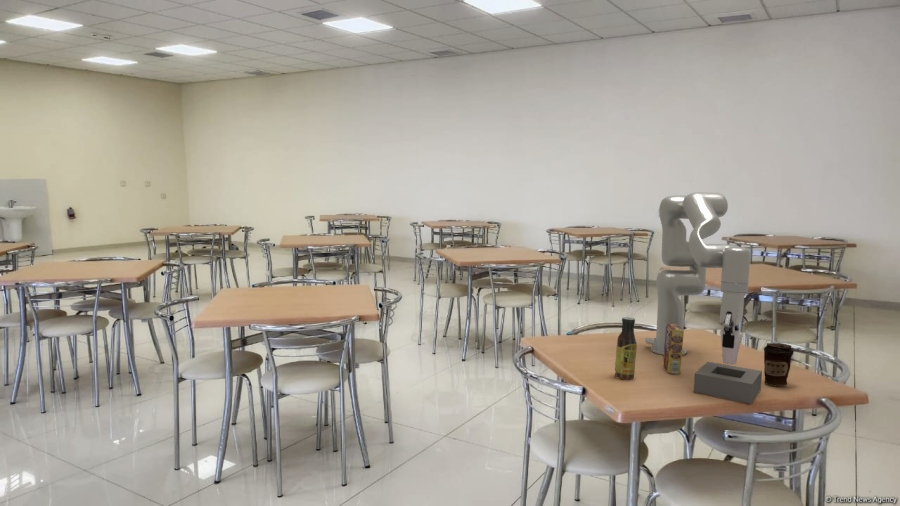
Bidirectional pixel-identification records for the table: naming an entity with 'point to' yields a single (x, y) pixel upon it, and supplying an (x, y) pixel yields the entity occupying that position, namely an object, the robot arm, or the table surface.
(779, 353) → the coffee cup
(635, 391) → the table surface
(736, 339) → the smoothie
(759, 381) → the well block
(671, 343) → the candy box
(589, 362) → the table surface
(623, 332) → the sauce bottle
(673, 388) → the table surface
